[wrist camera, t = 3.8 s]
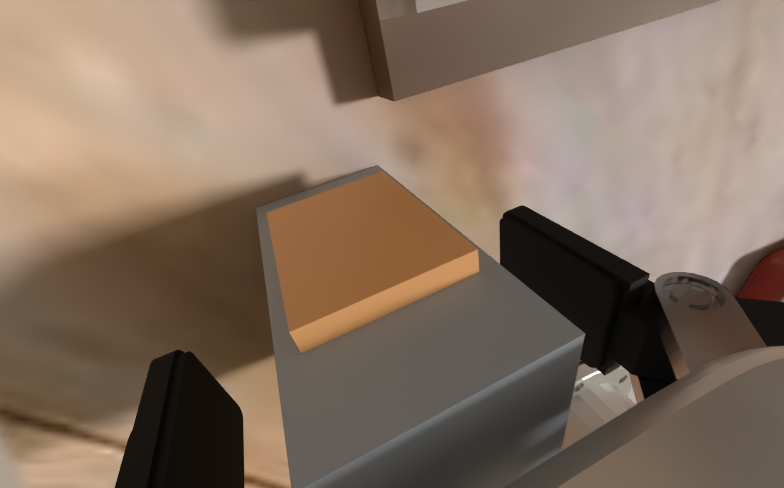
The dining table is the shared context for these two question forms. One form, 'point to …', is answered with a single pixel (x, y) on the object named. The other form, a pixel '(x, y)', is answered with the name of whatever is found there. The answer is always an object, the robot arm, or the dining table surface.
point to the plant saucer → (766, 279)
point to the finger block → (406, 345)
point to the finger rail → (487, 34)
